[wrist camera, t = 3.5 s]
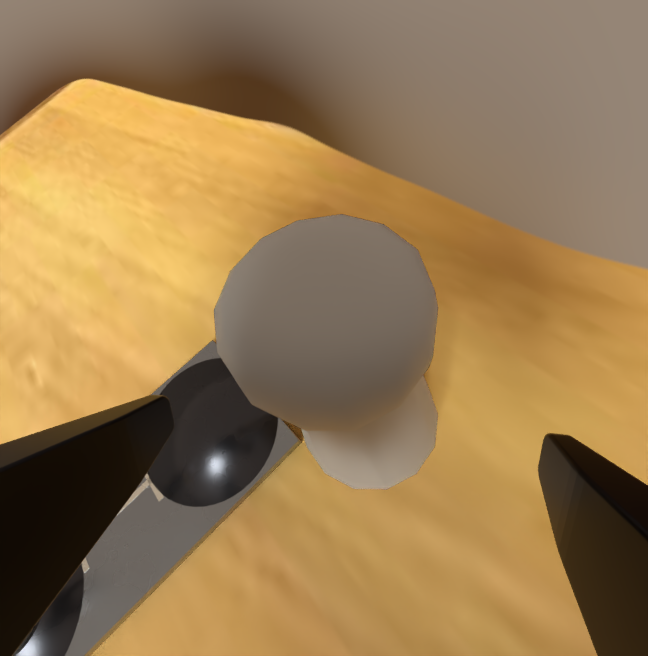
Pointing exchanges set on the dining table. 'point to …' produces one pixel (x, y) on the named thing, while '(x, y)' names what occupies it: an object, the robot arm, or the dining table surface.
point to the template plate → (168, 505)
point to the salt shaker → (337, 344)
